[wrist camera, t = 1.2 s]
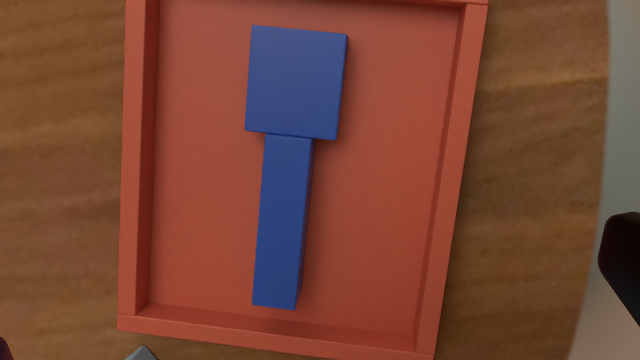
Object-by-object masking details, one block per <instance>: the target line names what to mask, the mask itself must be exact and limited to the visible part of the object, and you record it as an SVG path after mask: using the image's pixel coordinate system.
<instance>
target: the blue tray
mask: <svg viewBox="0 0 640 360" xmlns="http://www.w3.org/2000/svg"><path fill="white" fill-rule="evenodd" d="M124 360H157V359H156V358H155V357H154V356H153V355H152V353H151V352H150V351H149V350H148V349H147V348H146V347H145V346H144V345H143V346H141V347H140V348H139V349H137V350H136V351H135V352H133V353H132V354H131V355H130V356H128V357H127V358H126V359H124Z"/></svg>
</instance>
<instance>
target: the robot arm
mask: <svg viewBox="0 0 640 360" xmlns="http://www.w3.org/2000/svg"><path fill="white" fill-rule="evenodd" d="M598 266H599V269H600V271H601V273H602V274H603V276H604V278H605V279H606V280H607V282H608V283H609V285H610V286H611V287H612V289H613V290H614V291H615V293H616V294H617V296H618V297H619V299H620V300H621V301H622V303H623V304H624V306H625V307H626V308H627V310H628V311H629V313H630V314H631V315H632V317H633V318H634V320H635V321H636V322H637V324H638V325H639V327H640V213H639V212H629V213H623V214H618V215H614V216H611V217H610V218H609V219H608V220H607V221H606V224H605V227H604V232H603V236H602V241H601V245H600V250H599V254H598ZM0 360H14V359H13V357H12V354H11V352H10V349H9V347H8V345H7V343H6V341H5V340H4V339H3V338H2V337H0Z"/></svg>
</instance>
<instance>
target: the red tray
mask: <svg viewBox="0 0 640 360" xmlns="http://www.w3.org/2000/svg"><path fill="white" fill-rule="evenodd" d="M488 3H489V0H126V18H125V54H124V91H123V128H122V165H121V201H120V238H119V275H118V316H117V330H119V331H127V332H134V333H142V334H149V335H157V336H164V337H171V338H179V339H186V340H194V341H201V342H209V343H216V344H224V345H231V346H238V347H246V348H253V349H261V350H268V351H276V352H283V353H291V354H298V355H305V356H313V357H320V358H328V359H335V360H434V354H435V348H436V342H437V335H438V329H439V322H440V316H441V309H442V303H443V297H444V290H445V284H446V277H447V271H448V264H449V258H450V251H451V245H452V238H453V232H454V226H455V219H456V213H457V206H458V200H459V193H460V187H461V180H462V174H463V167H464V161H465V155H466V148H467V142H468V135H469V129H470V122H471V116H472V109H473V103H474V96H475V90H476V84H477V77H478V71H479V64H480V58H481V51H482V45H483V38H484V32H485V25H486V19H487V13H488V6H487V5H488ZM252 25H260V26H271V27H281V28H291V29H301V30H311V31H322V32H332V33H342V34H347V35H348V38H349V40H348V50H347V59H346V68H345V78H344V87H343V96H342V106H341V115H340V124H339V134H338V136H337V139H336V140H335V141H334V140H325V139H316V146H315V156H314V167H313V177H312V187H311V197H310V207H309V217H308V227H307V237H306V247H305V258H304V268H303V278H302V288H301V292H300V296H299V299H298V302H297V306H296V309H295V310H286V309H278V308H271V307H263V306H255V305H252V292H253V280H254V267H255V255H256V242H257V230H258V217H259V205H260V192H261V180H262V167H263V155H264V142H265V135H266V134H268V133H261V132H252V131H245V130H244V126H245V113H246V99H247V85H248V71H249V57H250V43H251V29H252Z"/></svg>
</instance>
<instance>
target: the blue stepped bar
mask: <svg viewBox="0 0 640 360" xmlns="http://www.w3.org/2000/svg"><path fill="white" fill-rule="evenodd" d="M348 40H349V38H348V35H347V34H342V33H332V32H322V31H311V30H301V29H291V28H281V27H271V26H260V25H252V29H251V43H250V57H249V71H248V85H247V99H246V113H245V126H244V130H245V131H252V132H261V133H268V134H266V135H265V142H264V155H263V167H262V180H261V192H260V205H259V217H258V230H257V242H256V255H255V267H254V280H253V292H252V305H255V306H263V307H271V308H278V309H286V310H295V309H296V306H297V302H298V299H299V296H300V292H301V288H302V278H303V268H304V258H305V247H306V237H307V227H308V217H309V207H310V197H311V187H312V177H313V167H314V156H315V146H316V139H325V140H334V141H335V140H336V139H337V136H338V134H339V124H340V115H341V106H342V96H343V87H344V78H345V68H346V59H347V50H348Z"/></svg>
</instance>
